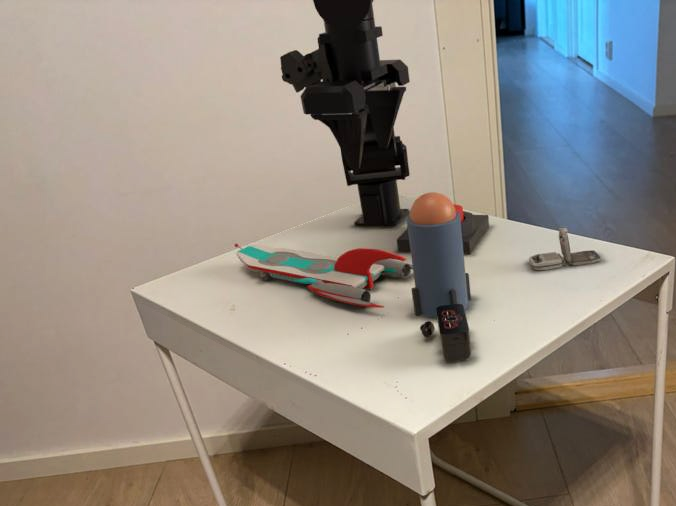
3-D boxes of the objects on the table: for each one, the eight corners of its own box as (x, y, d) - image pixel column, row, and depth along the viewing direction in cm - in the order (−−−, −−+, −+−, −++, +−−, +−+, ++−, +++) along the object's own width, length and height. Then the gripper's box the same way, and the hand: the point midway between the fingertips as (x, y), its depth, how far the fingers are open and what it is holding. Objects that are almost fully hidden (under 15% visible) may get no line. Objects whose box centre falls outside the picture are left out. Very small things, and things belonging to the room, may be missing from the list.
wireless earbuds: (464, 327, 75) (461, 299, 73) (472, 361, 69) (469, 331, 67) (420, 333, 75) (416, 305, 73) (424, 367, 69) (420, 337, 67)
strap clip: (533, 272, 86) (532, 239, 84) (527, 262, 89) (526, 230, 86) (601, 262, 87) (602, 229, 85) (593, 253, 90) (594, 221, 87)
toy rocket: (403, 304, 81) (387, 192, 74) (456, 288, 83) (445, 179, 77) (428, 327, 76) (413, 209, 69) (484, 309, 78) (475, 194, 72)
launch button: (441, 216, 96) (440, 203, 95) (466, 217, 95) (465, 204, 94) (433, 225, 93) (431, 213, 92) (459, 226, 92) (458, 213, 92)
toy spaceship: (205, 297, 91) (192, 259, 88) (265, 263, 99) (254, 227, 97) (384, 313, 78) (374, 269, 76) (434, 273, 87) (427, 232, 84)
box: (422, 225, 103) (419, 202, 101) (489, 227, 100) (487, 202, 99) (398, 252, 95) (394, 227, 93) (470, 254, 92) (468, 228, 90)
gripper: (321, 15, 91) (342, 139, 99) (243, 34, 75) (275, 180, 83) (402, 10, 88) (417, 139, 96) (339, 29, 72) (363, 180, 80)
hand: (370, 158), depth 89 cm, fingers open, 9 cm apart
